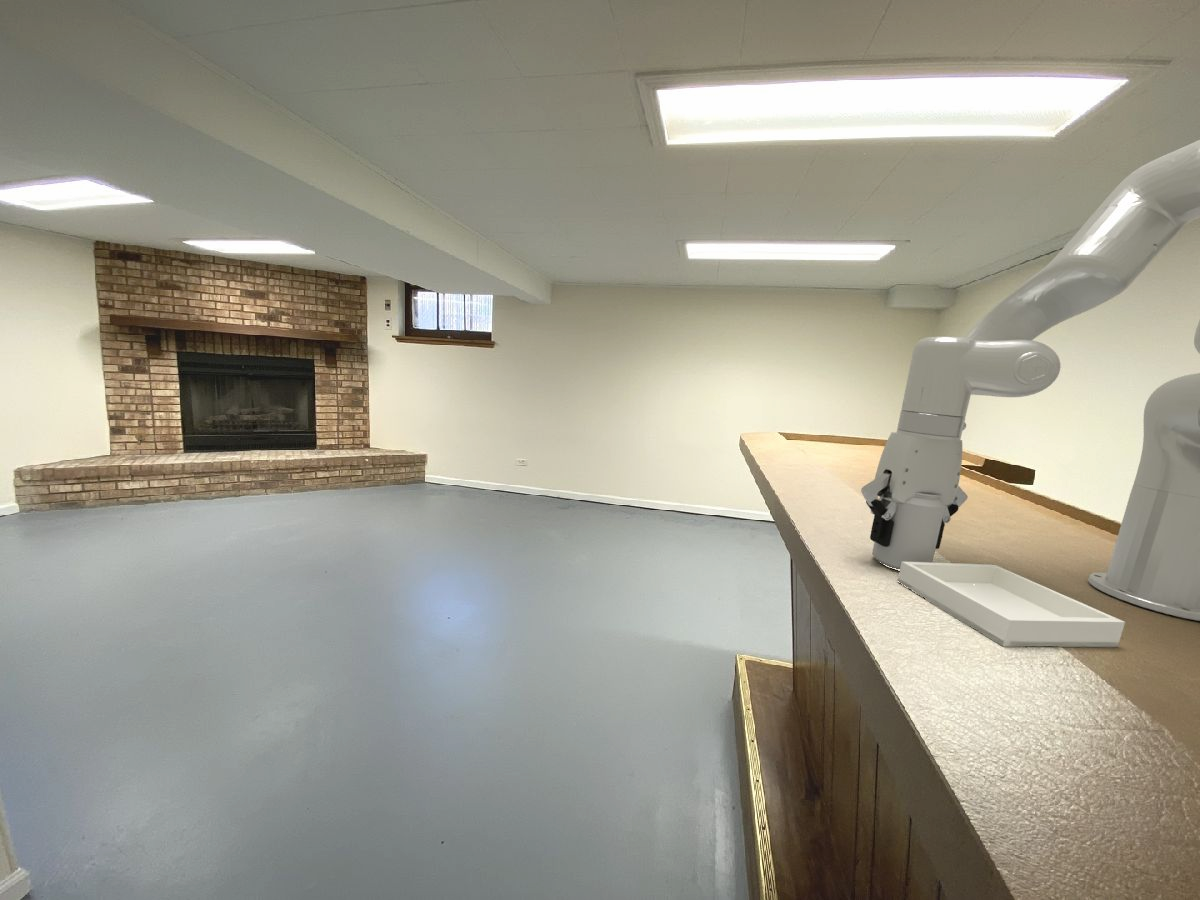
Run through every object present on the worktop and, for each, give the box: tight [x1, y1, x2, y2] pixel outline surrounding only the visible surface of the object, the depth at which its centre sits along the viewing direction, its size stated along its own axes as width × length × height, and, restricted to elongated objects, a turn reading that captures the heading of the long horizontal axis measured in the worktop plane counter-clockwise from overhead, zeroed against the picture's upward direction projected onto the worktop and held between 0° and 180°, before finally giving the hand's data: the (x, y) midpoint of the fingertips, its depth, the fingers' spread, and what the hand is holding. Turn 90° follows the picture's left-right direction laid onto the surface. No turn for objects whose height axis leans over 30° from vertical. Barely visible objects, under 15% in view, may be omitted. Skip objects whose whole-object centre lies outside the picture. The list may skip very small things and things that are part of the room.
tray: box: [897, 562, 1126, 648], centre depth 56 cm, size 15×15×3 cm
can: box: [871, 493, 945, 569], centre depth 68 cm, size 8×8×12 cm
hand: (904, 543), depth 68 cm, fingers closed on can, 7 cm apart
